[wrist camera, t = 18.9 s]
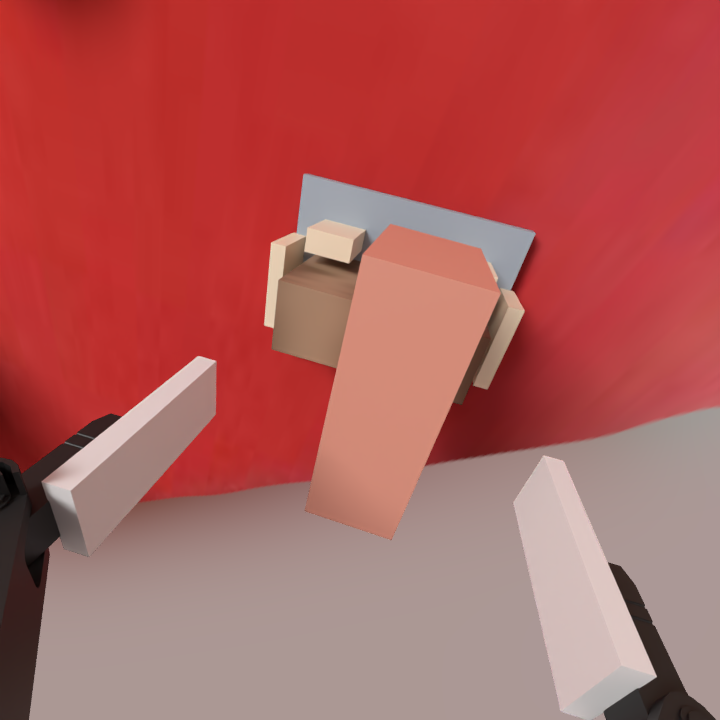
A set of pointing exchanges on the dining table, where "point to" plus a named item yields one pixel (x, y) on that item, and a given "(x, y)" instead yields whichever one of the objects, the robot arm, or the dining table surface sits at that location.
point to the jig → (378, 210)
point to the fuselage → (329, 314)
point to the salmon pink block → (398, 373)
